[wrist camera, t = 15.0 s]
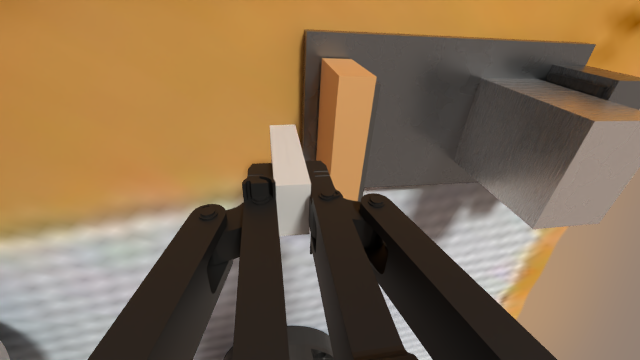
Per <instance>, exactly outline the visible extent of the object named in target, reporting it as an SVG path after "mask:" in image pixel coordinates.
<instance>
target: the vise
mask: <svg viewBox="0 0 640 360" xmlns="http://www.w3.org/2000/svg"><path fill="white" fill-rule="evenodd" d="M594 47H595V44H589V43H578V42H557V41H536V40H515V39H494V38H473V37H452V36H430V35H409V34H388V33H367V32H346V31H325V30H305V38H304V76H303V114H302V152H303V156H304V160H305V161H316V154H317V136H318V118H319V100H320V83H321V65H322V58H333V59H352V60H354V61H355V62H356V63H358V64H359V65H361V66H362V67H364V68H365V69H366V70H368V71H369V72H371V73H372V74H373V75H375V76H376V77H377V78H376V81H377V82H378V83H380V84H381V87H380V93H379V99H378V105H377V111H376V118H375V124H374V130H373V136H372V142H371V148H370V154H369V161H368V167H367V173H366V179H365V185H364V188H366V187H387V186H407V185H428V184H448V183H469V182H478V181H477V180H475V179H474V178H473V177H472V176H471V175H470V174H468V173H467V172H466V171H465V170H464V169H463V168H461V167H460V166H459V165H458V164H457V163H456V162H454V161H453V160H454V157H455V154H456V151H457V148H458V145H459V142H460V139H461V136H462V133H463V130H464V127H465V124H466V121H467V118H468V115H469V112H470V109H471V106H472V103H473V100H474V97H475V94H476V91H477V88H478V85H479V82H480V79H481V78H511V79H539V80H543V81H546V82H549V83H552V84H556V85H559V86H562V87H566V88H569V89H572V90H575V91H579V92H582V93H585V94H588V95H592V96H595V97H598V98H601V99H605V100H608V101H611V102H614V103H618V104H621V105H624V106H628V107H631V108H634V109H637V110H639V109H640V77H635V76H630V75H626V74H621V73H617V72H612V71H608V70H603V69H599V68H594V67H590V66H585V65H586V63H587V61H588V59H589V57H590V55H591V53H592V51H593V49H594Z"/></svg>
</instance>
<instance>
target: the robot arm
mask: <svg viewBox="0 0 640 360" xmlns="http://www.w3.org/2000/svg"><path fill="white" fill-rule="evenodd" d="M270 141H271V163H263V164H252V165H251V166H250V167H249V169H248V177H247V179H245V180H244V181H243V183H242V188H243V197H244V202H243V203H242V204H241V205H240V206H238V207H236V208H233V209H230V210H225V208H224V207H222V206H220V205H216V204H207V205H203V206H200V207H198V208H196V209H195V210H194V211H193V212H192V213H191V214H190V216H189V217H188V218H187V220H186V221H185V223H184V224H183V225H182V227H181V228H180V230H179V231H178V232H177V234H176V235H175V237H174V238H173V240H172V241H171V242H170V244H169V245H168V247H167V248H166V249H165V251H164V252H163V254H162V255H161V257H160V258H159V259H158V261H157V262H156V264H155V265H154V266H153V268H152V269H151V271H150V272H149V273H148V275H147V276H146V278H145V279H144V281H143V282H142V283H141V285H140V286H139V288H138V289H137V290H136V292H135V293H134V295H133V296H132V298H131V299H130V300H129V302H128V303H127V305H126V306H125V307H124V309H123V310H122V312H121V313H120V314H119V316H118V317H117V319H116V320H115V322H114V323H113V324H112V326H111V327H110V329H109V330H108V331H107V333H106V334H105V336H104V337H103V339H102V340H101V341H100V343H99V344H98V346H97V347H96V348H95V350H94V351H93V353H92V354H91V355H90V357H89V358H88V360H193V357H194V355H195V353H196V350H197V348H198V345H199V343H200V341H201V338H202V336H203V333H204V331H205V329H206V326H207V324H208V321H209V319H210V317H211V314H212V312H213V309H214V307H215V305H216V302H217V300H218V297H219V295H220V293H221V290H222V288H223V285H224V283H225V281H226V278H227V276H228V273H229V271H230V269H231V266H232V264H233V259H235V258H238V257H240V261H239V275H238V288H237V302H236V315H235V329H234V343H233V347H232V348H231V349H230V350H229V351H228V353H227V354H226V356H225V358H224V360H418V359H417V358H416V356H415V355H414V354H411V353H408V352H407V351H406V350H405V348H404V346H403V344H402V341H401V339H400V337H399V334H398V332H397V329H396V327H395V324H394V322H393V319H392V317H391V314H390V312H389V309H388V307H387V304H386V302H385V299H384V297H383V294H382V292H381V289H380V287H379V285H380V286H381V287H382V289H383V290H384V292H385V293H386V294H387V296H388V297H389V299H390V300H391V302H392V303H393V304H394V306H395V307H396V309H397V310H398V311H399V313H400V314H401V316H402V317H403V318H404V320H405V321H406V323H407V324H408V325H409V327H410V328H411V330H412V331H413V332H414V334H415V335H416V337H417V338H418V339H419V341H420V342H421V344H422V345H423V346H424V348H425V349H426V351H427V352H428V353H429V355H430V356H431V358H432V359H433V360H557V359H556V358H555V357H554V356H553V355H552V354H551V353H550V352H549V351H548V350H547V349H546V348H545V347H544V346H542V345H541V344H540V343H539V342H538V341H537V340H536V339H535V338H534V337H533V336H532V335H531V334H530V333H529V332H528V331H527V330H526V329H525V328H524V327H522V325H520V324H519V323H518V322H517V321H516V320H515V319H514V318H513V317H512V316H511V315H510V314H509V313H508V312H507V311H506V310H505V309H504V308H503V307H502V306H501V305H500V304H498V303H497V302H496V301H495V300H494V299H493V298H492V297H491V296H490V295H489V294H488V293H487V292H486V291H485V290H484V289H483V288H482V287H481V286H480V285H479V284H478V283H476V282H475V281H474V280H473V279H472V278H471V277H470V276H469V275H468V274H467V273H466V272H465V271H464V270H463V269H462V268H461V267H460V266H459V265H458V264H457V263H456V262H454V261H453V260H452V259H451V258H450V257H449V256H448V255H447V254H446V253H445V252H444V251H443V250H442V249H441V248H440V247H439V246H438V245H437V244H436V243H435V242H434V241H432V240H431V239H430V238H429V237H428V236H427V235H426V234H425V233H424V232H423V231H422V230H421V229H420V228H419V227H418V226H417V225H416V224H415V223H414V222H413V221H412V220H410V219H409V218H408V217H407V216H406V215H405V214H404V213H403V212H402V211H401V210H400V209H399V208H398V207H397V206H396V205H395V204H394V203H393V202H392V201H391V200H390V199H388V198H387V197H385V196H383V195H380V194H374V193H373V194H367V195H364V196H363V197H362V198H361V202H359V201H352V200H348V199H345V198H343V195H342V194H341V192H340V191H338V190H336V189H335V187H334V185H333V182H332V179H331V177H330V174H329V172H328V169H327V166H326V165H325V164H324V163H323V162H322V161H305V160H304V156H303V152H302V148H301V145H300V141H299V137H298V133H297V130H296V126H295V125H270ZM309 227H310V231H311V241H310V254H312V253H313V257H314V262H315V267H316V272H317V277H318V282H319V287H320V292H321V297H322V302H323V307H324V312H325V317H326V322H327V327H328V332H329V335H327V334H326V333H324V332H322V331H319V330H317V329H313V328H308V327H300V326H289V327H287V323H286V311H285V299H284V287H283V275H282V263H281V251H280V239H279V236H290V235H302V234H309ZM378 283H379V285H378Z"/></svg>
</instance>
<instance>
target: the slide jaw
mask: <svg viewBox="0 0 640 360" xmlns="http://www.w3.org/2000/svg"><path fill="white" fill-rule="evenodd" d="M376 78H377V77H376V76H375V75H373V74H372V73H371V72H369V71H368V70H366V69H365V68H364V67H362V66H361V65H359V64H358V63H356V62H355V61H354V60H352V59H333V58H322V65H321V83H320V100H319V118H318V136H317V154H316V161H322V162H323V163H324V164H325V165H326V166H327V169H328V172H329V174H330V177H331V179H332V182H333V185H334V187H335V189H336V190H338V191H340V192H341V194H342V195H343V198H345V199H348V200H352V201H359V202H361V198H362V197H363V191H364V185H365V179H366V173H367V167H368V161H369V154H370V148H371V142H372V136H373V130H374V124H375V118H376V111H377V105H378V99H379V93H380V87H381V84H380V83H378V82H377V81H376Z"/></svg>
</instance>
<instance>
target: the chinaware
mask: <svg viewBox="0 0 640 360" xmlns="http://www.w3.org/2000/svg"><path fill="white" fill-rule="evenodd" d="M0 360H10V358H9V355H8V353H7V350H6V348H5V347H4V345H3V343H2V342H1V341H0Z"/></svg>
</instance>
